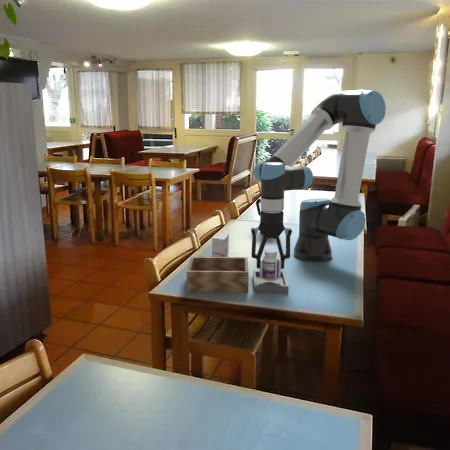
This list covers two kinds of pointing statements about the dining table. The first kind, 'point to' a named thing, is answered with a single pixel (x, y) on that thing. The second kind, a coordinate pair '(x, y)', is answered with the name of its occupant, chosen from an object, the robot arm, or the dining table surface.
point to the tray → (270, 284)
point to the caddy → (218, 274)
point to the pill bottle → (270, 265)
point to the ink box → (220, 245)
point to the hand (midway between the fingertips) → (269, 277)
